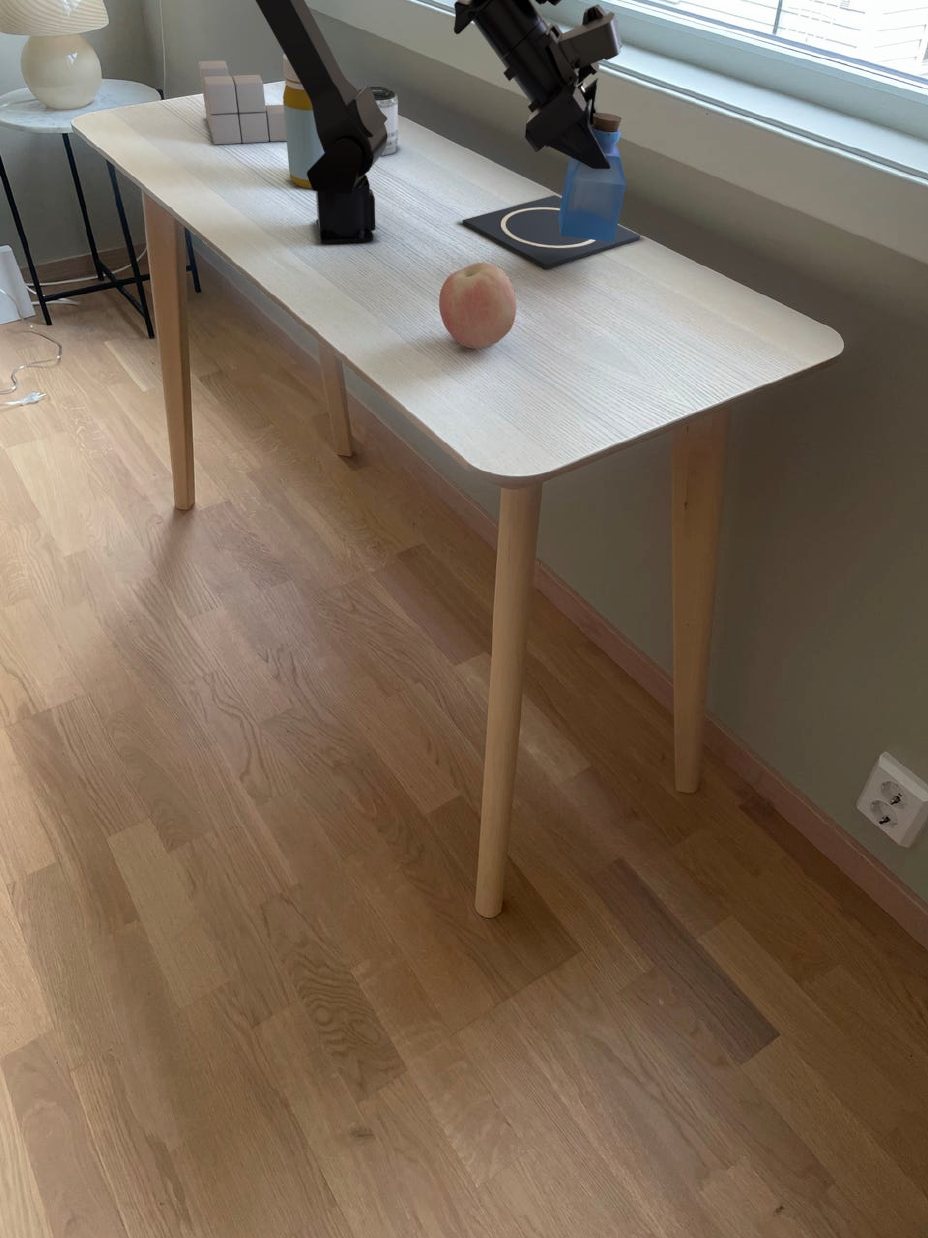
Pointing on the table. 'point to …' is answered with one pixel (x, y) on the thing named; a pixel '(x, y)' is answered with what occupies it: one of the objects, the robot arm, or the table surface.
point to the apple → (478, 305)
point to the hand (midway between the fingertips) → (608, 163)
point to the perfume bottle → (594, 189)
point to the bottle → (299, 128)
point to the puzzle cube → (239, 107)
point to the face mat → (541, 233)
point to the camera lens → (388, 115)
